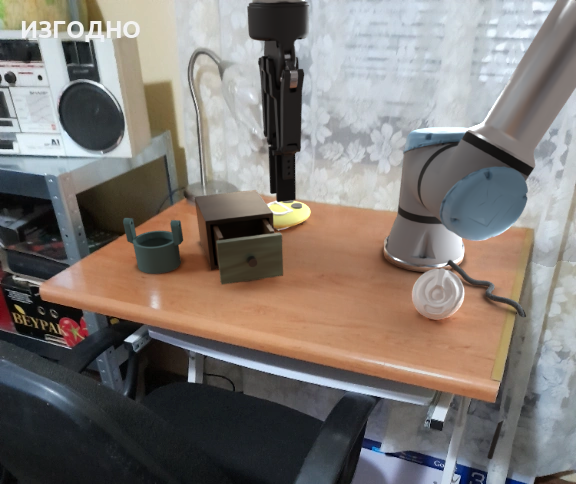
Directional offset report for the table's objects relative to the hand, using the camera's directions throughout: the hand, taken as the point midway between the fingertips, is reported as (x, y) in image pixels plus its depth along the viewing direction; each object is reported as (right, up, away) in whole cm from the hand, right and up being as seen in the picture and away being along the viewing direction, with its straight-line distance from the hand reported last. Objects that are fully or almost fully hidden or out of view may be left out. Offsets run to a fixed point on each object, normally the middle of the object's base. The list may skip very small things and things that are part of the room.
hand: (282, 195), depth 78 cm
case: (-10, -1, +29) cm, 31 cm away
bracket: (-24, -4, +25) cm, 35 cm away
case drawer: (-7, -6, +21) cm, 23 cm away
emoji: (0, +8, +41) cm, 42 cm away
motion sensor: (+25, -17, +8) cm, 31 cm away
